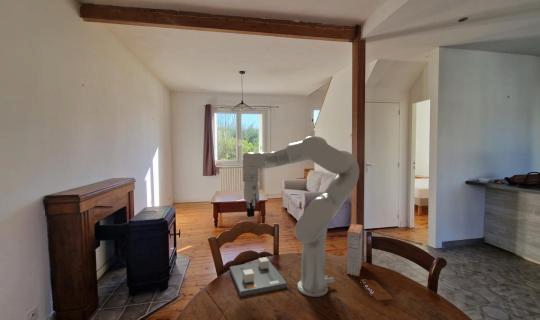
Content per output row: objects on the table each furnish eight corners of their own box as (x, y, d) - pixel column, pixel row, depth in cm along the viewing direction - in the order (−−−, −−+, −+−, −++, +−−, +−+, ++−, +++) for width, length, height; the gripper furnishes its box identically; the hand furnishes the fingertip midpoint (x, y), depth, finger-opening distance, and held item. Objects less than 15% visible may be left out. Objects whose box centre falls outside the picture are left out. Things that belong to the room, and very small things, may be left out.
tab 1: (251, 276, 107) (251, 268, 107) (254, 281, 103) (254, 273, 103) (242, 278, 105) (242, 270, 105) (244, 283, 102) (245, 274, 102)
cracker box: (349, 262, 128) (351, 223, 127) (362, 265, 125) (363, 224, 124) (345, 274, 115) (346, 230, 114) (359, 277, 112) (360, 232, 112)
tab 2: (266, 264, 119) (266, 257, 119) (269, 267, 115) (269, 260, 115) (258, 265, 118) (258, 258, 117) (260, 269, 114) (261, 261, 114)
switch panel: (269, 264, 124) (269, 260, 124) (286, 287, 103) (286, 282, 103) (229, 270, 117) (229, 266, 117) (240, 296, 96) (240, 291, 96)
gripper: (263, 179, 111) (263, 219, 112) (253, 176, 125) (253, 212, 126) (247, 180, 108) (247, 221, 109) (238, 177, 122) (238, 213, 123)
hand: (250, 216), depth 117 cm, fingers closed
